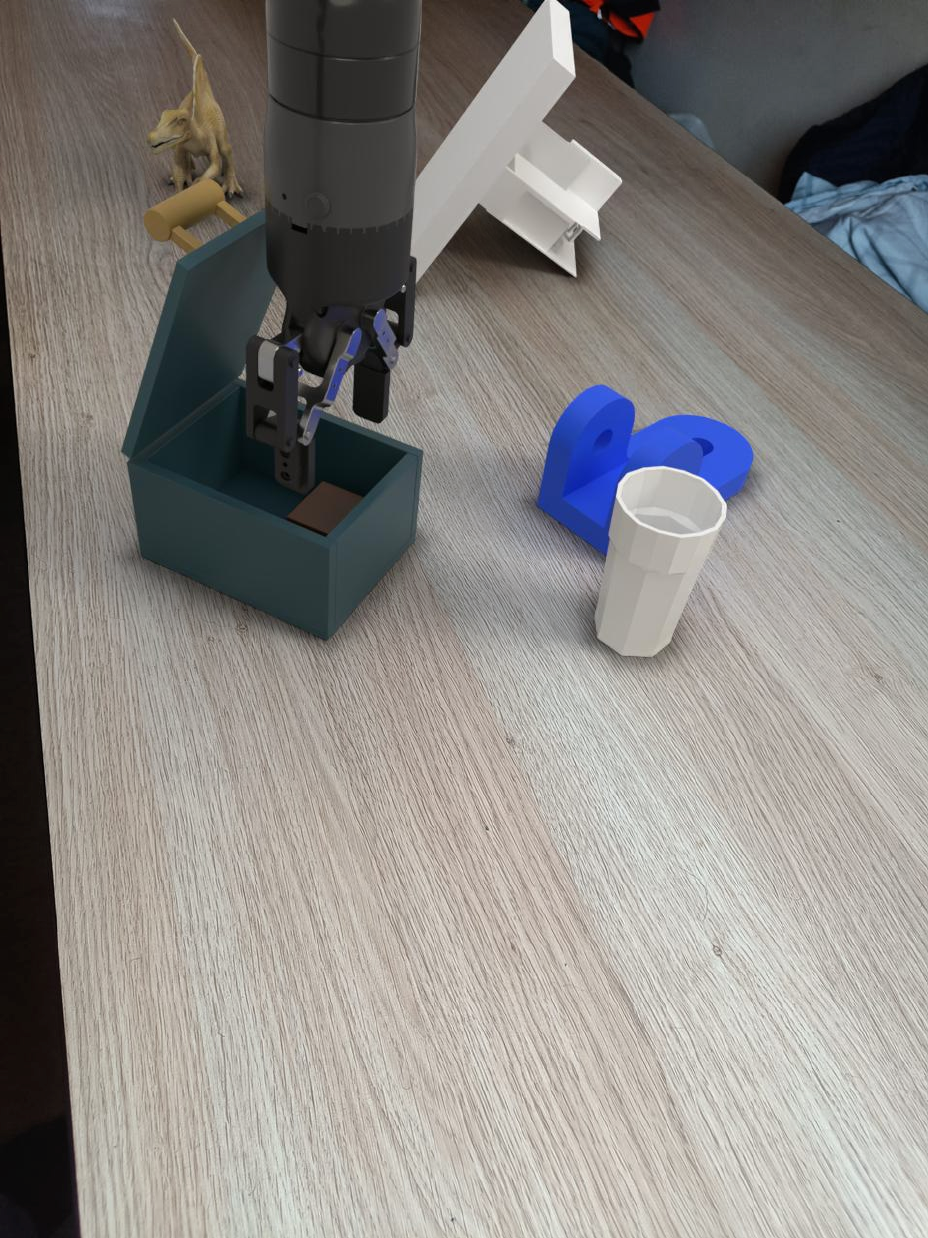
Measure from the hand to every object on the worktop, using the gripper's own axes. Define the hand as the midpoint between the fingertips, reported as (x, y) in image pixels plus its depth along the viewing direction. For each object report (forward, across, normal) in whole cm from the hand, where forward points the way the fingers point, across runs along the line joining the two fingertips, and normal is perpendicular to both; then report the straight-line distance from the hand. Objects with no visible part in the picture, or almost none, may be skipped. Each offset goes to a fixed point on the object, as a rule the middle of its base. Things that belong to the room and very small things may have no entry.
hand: (334, 450), depth 65 cm
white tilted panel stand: (+10, -50, -11) cm, 52 cm away
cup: (+10, -6, +20) cm, 23 cm away
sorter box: (+10, 0, -4) cm, 11 cm away
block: (+9, 0, 0) cm, 9 cm away
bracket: (+10, -21, +16) cm, 29 cm away
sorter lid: (-5, 0, -8) cm, 10 cm away
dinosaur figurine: (+10, -42, -41) cm, 60 cm away
